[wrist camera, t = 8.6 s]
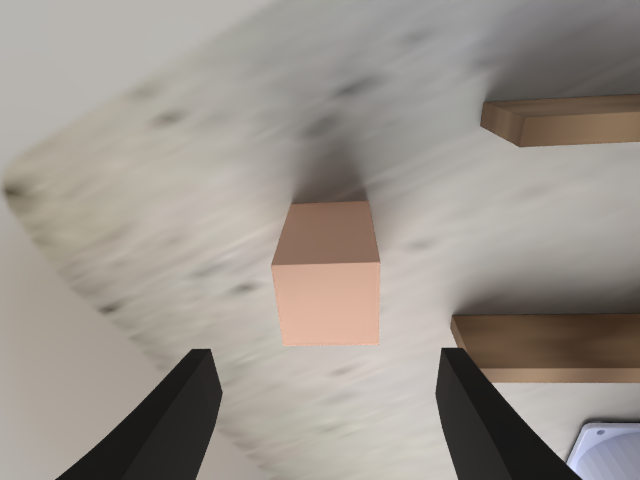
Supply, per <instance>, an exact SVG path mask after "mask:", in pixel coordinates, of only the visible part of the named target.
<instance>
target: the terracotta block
mask: <svg viewBox="0 0 640 480" xmlns="http://www.w3.org/2000/svg"><path fill="white" fill-rule="evenodd" d="M271 268H272V275H273V281H274V288H275V294H276V301H277V307H278V314H279V320H280V327H281V334H282V340H283V346H307V345H379V306H380V259H379V253H378V248H377V243H376V237H375V232H374V227H373V222H372V216H371V211H370V206H369V201H350V202H326V203H302V204H291V205H290V208H289V211H288V214H287V218H286V221H285V224H284V227H283V230H282V233H281V236H280V239H279V242H278V246H277V249H276V252H275V255H274V258H273V261H272V264H271Z"/></svg>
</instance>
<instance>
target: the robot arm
mask: <svg viewBox="0 0 640 480" xmlns="http://www.w3.org/2000/svg"><path fill="white" fill-rule="evenodd" d="M222 393H223V392H222V389H221V385H220V382H219V378H218V374H217V371H216V367H215V363H214V360H213V356H212V352H211V349H192V350H191V351H190V352H189V353H188V354H187V355H186V356H185V357H184V358H183V359H182V360H181V361H180V362H179V363H178V364H177V365H176V366H175V367H174V369H173V370H172V371H171V372H170V373H169V374H168V375H167V376H166V377H165V378H164V379H163V380H162V381H161V382H160V384H159V385H158V386H157V387H156V388H155V389H154V390H153V391H152V392H151V393H150V394H149V395H148V396H147V397H146V398H145V399H144V400H143V401H142V402H141V403H140V404H139V405H138V406H137V407H136V408H135V409H134V410H133V411H132V412H131V413H130V414H129V415H128V416H127V417H126V418H125V419H124V420H123V421H122V422H121V423H120V424H119V425H118V426H117V427H116V428H115V429H114V430H112V431H111V432H110V433H109V434H108V435H107V436H106V437H105V438H104V439H103V440H102V441H101V442H100V443H98V444H97V445H96V446H95V447H94V448H93V449H92V450H91V451H89V452H88V453H87V454H86V455H85V456H84V457H82V458H81V459H80V460H79V461H78V462H77V463H75V464H74V465H73V466H72V467H70V468H69V469H68V470H67V471H65V472H64V473H63V474H62V475H61V476H59V477H58V478H57V479H55V480H196V477H197V474H198V472H199V468H200V466H201V463H202V461H203V458H204V455H205V452H206V450H207V447H208V444H209V441H210V438H211V435H212V433H213V430H214V427H215V423H216V419H217V415H218V411H219V407H220V402H221V398H222ZM435 394H436V400H437V405H438V410H439V415H440V420H441V424H442V429H443V432H444V436H445V439H446V442H447V445H448V448H449V452H450V455H451V458H452V461H453V464H454V467H455V471H456V474H457V477H458V480H640V423H588V424H586V425H584V426H583V428H582V430H581V432H580V434H579V437H578V439H577V441H576V443H575V446H574V448H573V450H572V452H571V454H570V457H569V459H568V461H567V463H565V462H564V461H563V460H562V459H561V458H560V457H558V456H557V455H556V454H555V453H554V452H553V451H552V450H551V449H550V448H549V447H548V446H547V445H546V443H545V442H544V441H543V440H542V439H541V438H540V437H539V436H538V435H537V434H536V433H535V432H534V431H533V430H532V429H531V428H530V427H529V426H528V425H527V423H526V422H525V421H524V420H523V419H522V418H521V417H520V416H519V415H518V414H517V412H516V411H515V410H514V409H513V408H512V407H511V406H510V404H509V403H508V402H507V401H506V400H505V399H504V398H503V397H502V395H501V394H500V393H499V392H498V391H497V389H496V388H495V387H494V386H493V385H492V383H491V382H490V381H489V380H488V379H487V377H486V376H485V375H484V374H483V372H482V371H481V370H480V369H479V367H478V366H477V365H476V364H475V362H474V361H473V360H472V358H471V357H470V356H469V355H468V353H467V352H466V351H465V350H464V349H463V348H442V349H441V356H440V364H439V371H438V378H437V386H436V393H435Z"/></svg>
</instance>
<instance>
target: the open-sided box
mask: <svg viewBox="0 0 640 480" xmlns="http://www.w3.org/2000/svg"><path fill="white" fill-rule="evenodd" d="M480 126H481V127H483V128H485V129H487V130H489V131H491V132H493V133H494V134H496V135H498V136H500V137H502V138H504V139H505V140H507V141H509V142H511V143H513V144H515V145H516V146H518V147H533V146H555V145H577V144H599V143H621V142H640V94H628V95H609V96H591V97H573V98H555V99H536V100H518V101H500V102H484V104H483V111H482V118H481V124H480ZM450 329H451V331H452V334H453V336H454V339H455V341H456V344H457V347H458V348H463V349H464V350H465V351H466V352H467V353H468V355H469V356H470V357H471V358H472V360H473V361H474V362H475V364H476V365H477V366H478V367H479V369H480V370H481V371H482V372H483V374H484V375H485V376H486V377H487V379H488V380H489V381H490V382H491V383H640V313H639V314H556V315H474V316H452V321H451V328H450Z"/></svg>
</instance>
